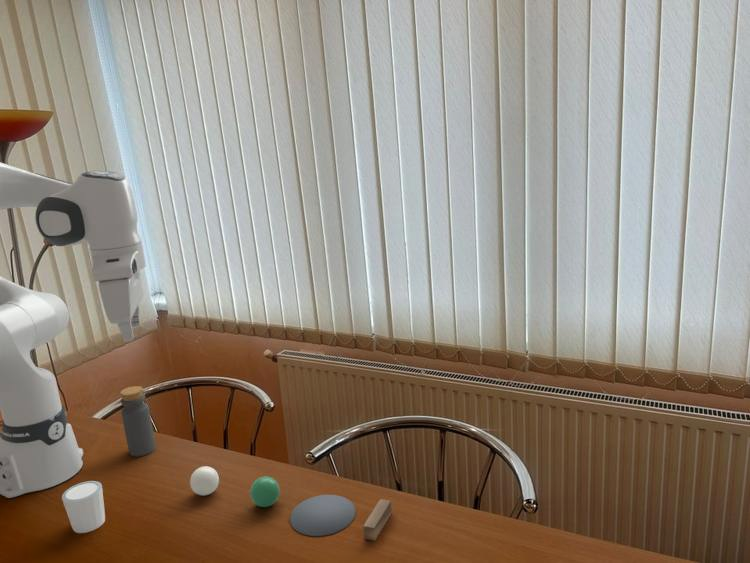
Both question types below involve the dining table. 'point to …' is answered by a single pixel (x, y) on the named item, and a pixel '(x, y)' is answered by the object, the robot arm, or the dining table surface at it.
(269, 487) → the green ball
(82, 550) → the dining table surface
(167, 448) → the dining table surface
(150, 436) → the bottle
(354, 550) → the dining table surface
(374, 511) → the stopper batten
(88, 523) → the shot glass
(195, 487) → the cue ball
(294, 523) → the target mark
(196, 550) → the dining table surface
